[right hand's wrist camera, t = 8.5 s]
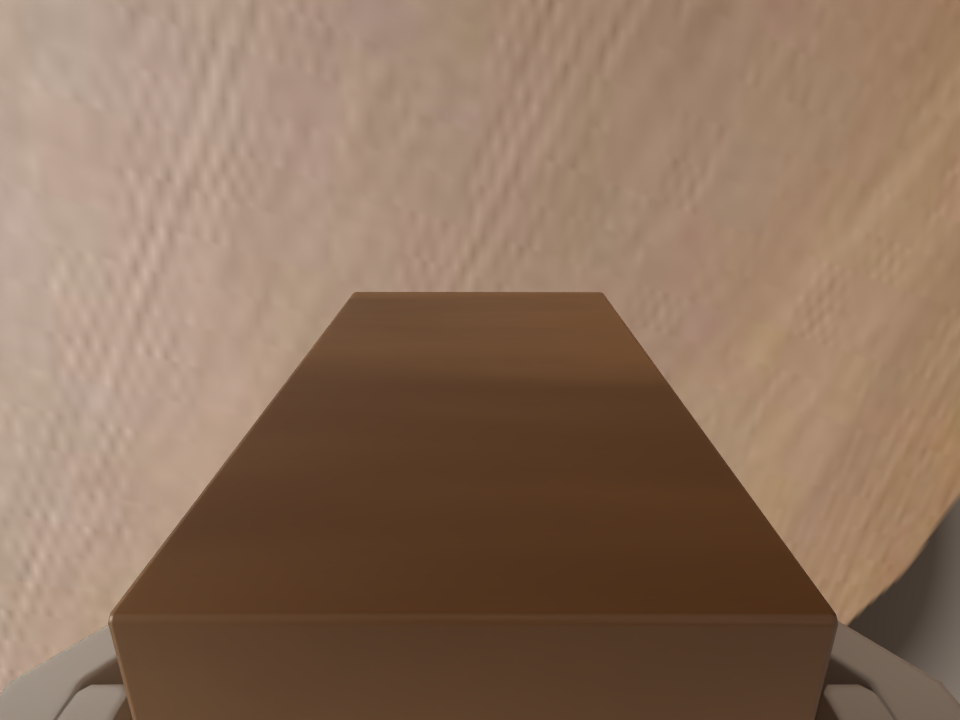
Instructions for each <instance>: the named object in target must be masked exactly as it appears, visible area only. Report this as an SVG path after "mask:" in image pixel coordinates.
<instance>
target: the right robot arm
mask: <svg viewBox="0 0 960 720" xmlns="http://www.w3.org/2000/svg"><path fill="white" fill-rule="evenodd" d="M0 720H133V718H132V715H131V711H130V707H129V703H128V699H127V695H126V691H125V687H124V683H123V680H122V676H121V672H120V668H119V664H118V660H117V656H116V652H115V648H114V645H113V641H112V637H111V633H110V629H109V625H107V626H105V627H103V628H102V629H100V630H98V631H97V632H95V633H93V634H92V635H90V636H88V637H86V638H85V639H83V640H81V641H80V642H78V643H76V644H74V645H73V646H71V647H69V648H68V649H66V650H64V651H63V652H61V653H59V654H57V655H56V656H54V657H52V658H51V659H49V660H47V661H45V662H44V663H42V664H40V665H39V666H37V667H35V668H34V669H32V670H30V671H28V672H27V673H25V674H23V675H22V676H20V677H18V678H16V679H15V680H13V681H11V682H10V683H9V685H8V686H7V687H6V688H5V689H4V691H3V692H2V693H1V694H0ZM815 720H960V704H959V703H958V702H957V700H956V699H955V698H954V697H953V696H952V694H951V693H950V692H949V691H948V690H947V688H946V687H945V686H944V685H943V684H942V683H941V682H940V681H938V680H936V679H935V678H933V677H931V676H930V675H928V674H926V673H925V672H923V671H921V670H920V669H918V668H916V667H915V666H913V665H911V664H910V663H908V662H906V661H904V660H903V659H901V658H899V657H898V656H896V655H894V654H893V653H891V652H889V651H888V650H886V649H884V648H883V647H881V646H879V645H878V644H876V643H874V642H872V641H871V640H869V639H867V638H866V637H864V636H862V635H861V634H859V633H857V632H856V631H854V630H852V629H851V628H849V627H847V626H846V625H844V624H842V623H840V622H839V621H838V628H837V632H836V636H835V640H834V644H833V648H832V652H831V656H830V660H829V664H828V668H827V672H826V676H825V680H824V684H823V688H822V692H821V696H820V700H819V704H818V708H817V712H816V716H815Z"/></svg>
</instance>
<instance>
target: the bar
mask: <svg viewBox="0 0 960 720" xmlns="http://www.w3.org/2000/svg"><path fill="white" fill-rule="evenodd" d="M108 625H109V629H110V633H111V637H112V641H113V645H114V648H115V652H116V656H117V660H118V664H119V668H120V672H121V676H122V680H123V683H124V687H125V691H126V695H127V699H128V703H129V707H130V711H131V715H132V718H133V720H815V716H816V712H817V708H818V704H819V700H820V696H821V692H822V688H823V684H824V680H825V676H826V672H827V668H828V664H829V660H830V656H831V652H832V648H833V644H834V640H835V636H836V632H837V628H838V621H837V617H836V614H835V612H834V611H833V610H832V608H831V607H830V605H829V604H828V603H827V601H826V600H825V599H824V597H823V596H822V594H821V593H820V592H819V590H818V589H817V588H816V586H815V585H814V583H813V582H812V581H811V579H810V578H809V577H808V575H807V574H806V572H805V571H804V570H803V568H802V567H801V566H800V564H799V563H798V561H797V560H796V559H795V557H794V556H793V554H792V553H791V552H790V550H789V549H788V548H787V546H786V545H785V543H784V542H783V541H782V539H781V538H780V537H779V535H778V534H777V532H776V531H775V530H774V528H773V527H772V526H771V524H770V523H769V521H768V520H767V519H766V517H765V516H764V515H763V513H762V512H761V510H760V509H759V508H758V506H757V505H756V504H755V502H754V501H753V499H752V498H751V497H750V495H749V494H748V492H747V491H746V490H745V488H744V487H743V486H742V484H741V483H740V481H739V480H738V479H737V477H736V476H735V475H734V473H733V472H732V470H731V469H730V468H729V466H728V465H727V464H726V462H725V461H724V459H723V458H722V457H721V455H720V454H719V453H718V451H717V450H716V448H715V447H714V446H713V444H712V443H711V442H710V440H709V439H708V437H707V436H706V435H705V433H704V432H703V430H702V429H701V428H700V426H699V425H698V424H697V422H696V421H695V419H694V418H693V417H692V415H691V414H690V413H689V411H688V410H687V408H686V407H685V406H684V404H683V403H682V402H681V400H680V399H679V397H678V396H677V395H676V393H675V392H674V391H673V389H672V388H671V386H670V385H669V384H668V382H667V381H666V379H665V378H664V377H663V375H662V374H661V373H660V371H659V370H658V368H657V367H656V366H655V364H654V363H653V362H652V360H651V359H650V357H649V356H648V355H647V353H646V352H645V351H644V349H643V348H642V346H641V345H640V344H639V342H638V341H637V340H636V338H635V337H634V335H633V334H632V333H631V331H630V330H629V329H628V327H627V326H626V324H625V323H624V322H623V320H622V319H621V317H620V316H619V315H618V313H617V312H616V311H615V309H614V308H613V306H612V305H611V304H610V302H609V301H608V300H607V298H606V297H605V295H604V294H603V293H601V292H355V293H353V295H352V296H351V297H350V299H349V300H348V301H347V302H346V304H345V305H344V306H343V308H342V309H341V310H340V312H339V313H338V314H337V316H336V317H335V318H334V320H333V321H332V322H331V324H330V325H329V326H328V328H327V329H326V330H325V331H324V333H323V334H322V335H321V337H320V338H319V339H318V341H317V342H316V343H315V345H314V346H313V347H312V349H311V350H310V351H309V353H308V354H307V355H306V356H305V358H304V359H303V360H302V362H301V363H300V364H299V366H298V367H297V368H296V370H295V371H294V372H293V374H292V375H291V376H290V378H289V379H288V380H287V381H286V383H285V384H284V385H283V387H282V388H281V389H280V391H279V392H278V393H277V395H276V396H275V397H274V399H273V400H272V401H271V403H270V404H269V405H268V406H267V408H266V409H265V410H264V412H263V413H262V414H261V416H260V417H259V418H258V420H257V421H256V422H255V424H254V425H253V426H252V428H251V429H250V430H249V431H248V433H247V434H246V435H245V437H244V438H243V439H242V441H241V442H240V443H239V445H238V446H237V447H236V449H235V450H234V451H233V453H232V454H231V455H230V456H229V458H228V459H227V460H226V462H225V463H224V464H223V466H222V467H221V468H220V470H219V471H218V472H217V474H216V475H215V476H214V478H213V479H212V480H211V481H210V483H209V484H208V485H207V487H206V488H205V489H204V491H203V492H202V493H201V495H200V496H199V497H198V499H197V500H196V501H195V503H194V504H193V505H192V506H191V508H190V509H189V510H188V512H187V513H186V514H185V516H184V517H183V518H182V520H181V521H180V522H179V524H178V525H177V526H176V528H175V529H174V530H173V531H172V533H171V534H170V535H169V537H168V538H167V539H166V541H165V542H164V543H163V545H162V546H161V547H160V549H159V550H158V551H157V553H156V554H155V555H154V557H153V558H152V559H151V560H150V562H149V563H148V564H147V566H146V567H145V568H144V570H143V571H142V572H141V574H140V575H139V576H138V578H137V579H136V580H135V582H134V583H133V584H132V585H131V587H130V588H129V589H128V591H127V592H126V593H125V595H124V596H123V597H122V599H121V600H120V601H119V603H118V604H117V605H116V607H115V608H114V609H113V610H112V612H111V613H110V617H109V622H108Z"/></svg>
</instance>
